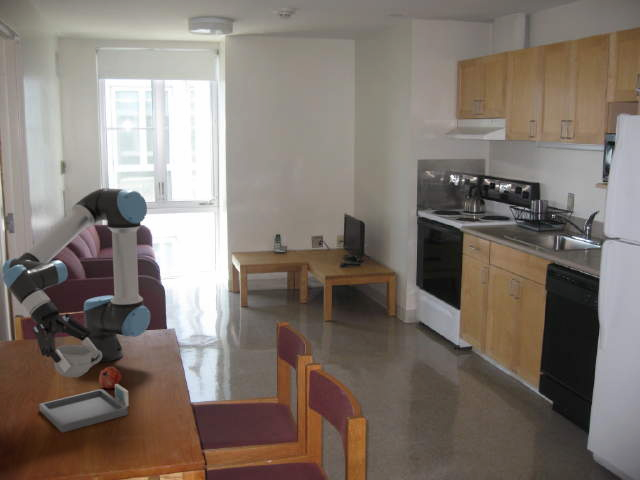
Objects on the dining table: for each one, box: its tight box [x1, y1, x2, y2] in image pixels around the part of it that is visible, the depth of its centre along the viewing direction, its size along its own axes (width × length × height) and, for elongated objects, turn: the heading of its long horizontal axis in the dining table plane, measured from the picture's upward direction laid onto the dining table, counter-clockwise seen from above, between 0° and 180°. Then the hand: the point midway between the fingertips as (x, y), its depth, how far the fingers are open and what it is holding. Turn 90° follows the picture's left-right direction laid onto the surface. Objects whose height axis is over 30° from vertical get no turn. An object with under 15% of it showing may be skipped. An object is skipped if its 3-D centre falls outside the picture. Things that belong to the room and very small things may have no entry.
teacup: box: [53, 344, 102, 378], centre depth 211 cm, size 14×11×8 cm
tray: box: [38, 388, 129, 433], centre depth 214 cm, size 20×20×2 cm
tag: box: [114, 383, 130, 408], centre depth 221 cm, size 1×8×5 cm, turn 39°
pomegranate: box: [98, 366, 122, 390], centre depth 234 cm, size 7×7×10 cm
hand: (82, 362), depth 210 cm, fingers closed on teacup, 12 cm apart
